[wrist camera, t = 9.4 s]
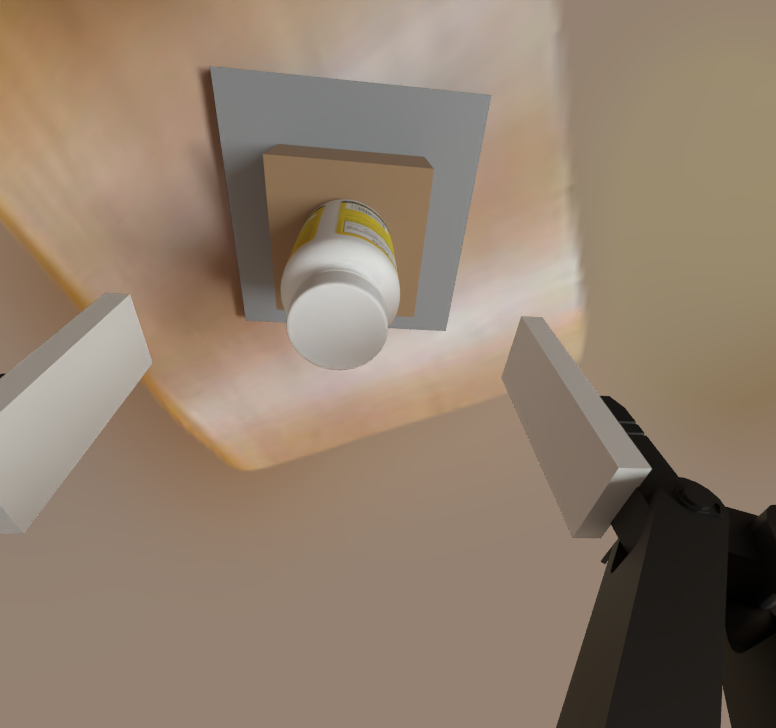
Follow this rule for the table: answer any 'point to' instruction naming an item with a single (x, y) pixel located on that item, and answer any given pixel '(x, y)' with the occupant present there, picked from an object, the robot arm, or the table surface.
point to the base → (348, 127)
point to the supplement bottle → (340, 286)
